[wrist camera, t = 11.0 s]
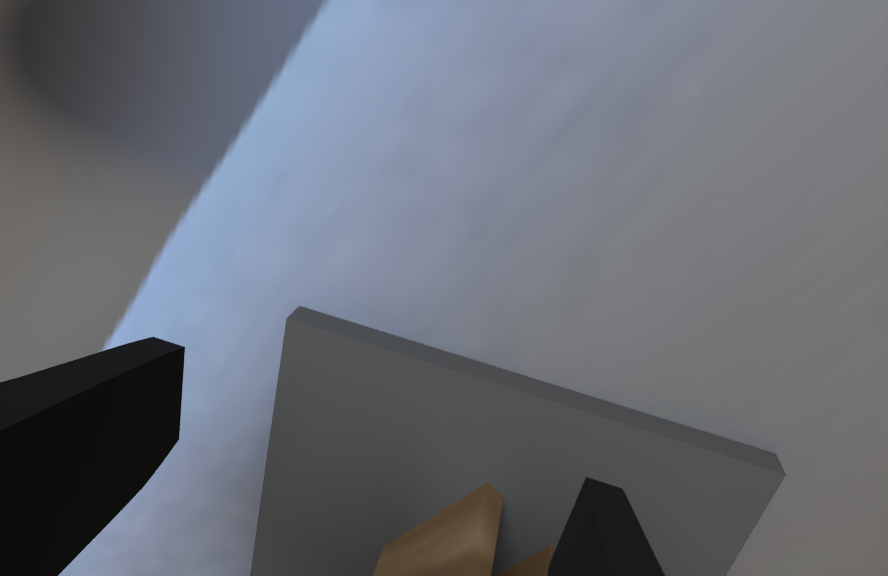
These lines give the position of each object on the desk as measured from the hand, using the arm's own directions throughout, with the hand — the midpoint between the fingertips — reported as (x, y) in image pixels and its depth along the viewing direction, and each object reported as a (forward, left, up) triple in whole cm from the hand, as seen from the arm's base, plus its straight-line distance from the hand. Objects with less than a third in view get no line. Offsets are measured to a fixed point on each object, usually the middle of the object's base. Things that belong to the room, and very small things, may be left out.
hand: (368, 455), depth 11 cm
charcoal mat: (-3, +10, -9) cm, 14 cm away
